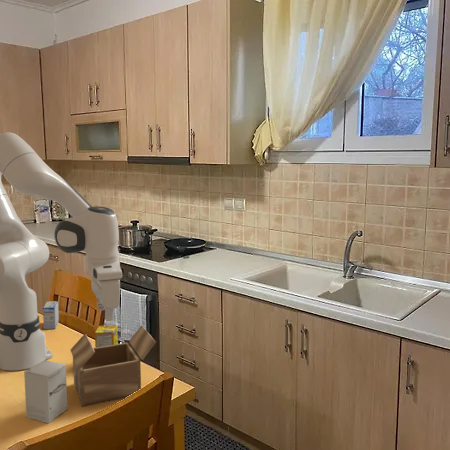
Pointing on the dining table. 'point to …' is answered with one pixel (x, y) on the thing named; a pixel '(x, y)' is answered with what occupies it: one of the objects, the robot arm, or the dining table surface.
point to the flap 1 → (82, 351)
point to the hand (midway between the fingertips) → (105, 314)
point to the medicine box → (50, 315)
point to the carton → (108, 375)
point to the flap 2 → (142, 342)
